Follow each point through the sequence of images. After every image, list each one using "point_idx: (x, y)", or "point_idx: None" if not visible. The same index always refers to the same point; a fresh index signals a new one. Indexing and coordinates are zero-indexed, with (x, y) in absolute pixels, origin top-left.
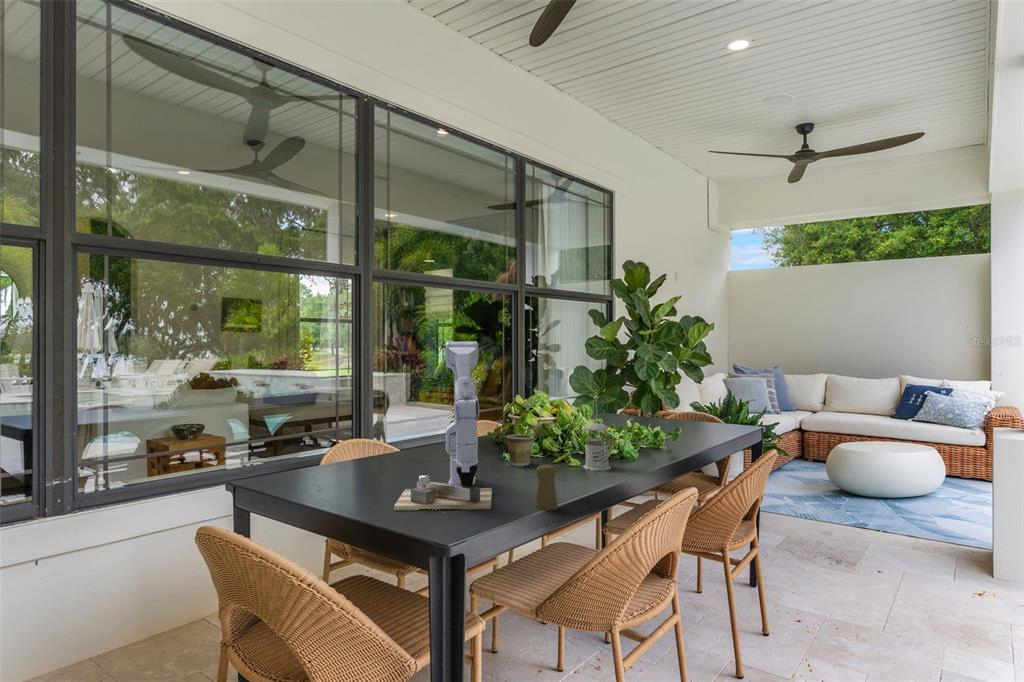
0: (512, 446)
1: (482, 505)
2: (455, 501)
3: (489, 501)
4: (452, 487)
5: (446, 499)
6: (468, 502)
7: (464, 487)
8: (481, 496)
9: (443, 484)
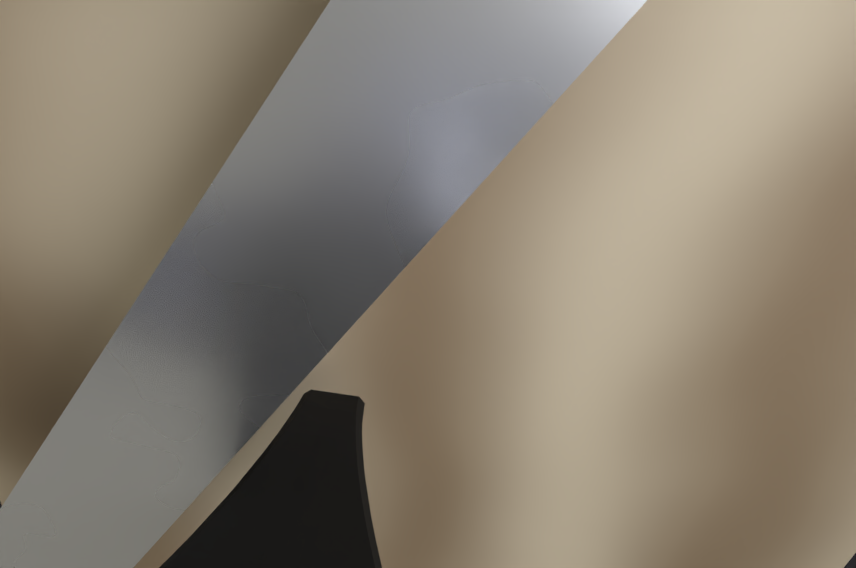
0: None
1: (8, 488)
2: (126, 216)
3: (146, 566)
4: (143, 296)
5: (273, 70)
6: (83, 378)
7: (39, 511)
8: (392, 535)
9: (395, 82)
